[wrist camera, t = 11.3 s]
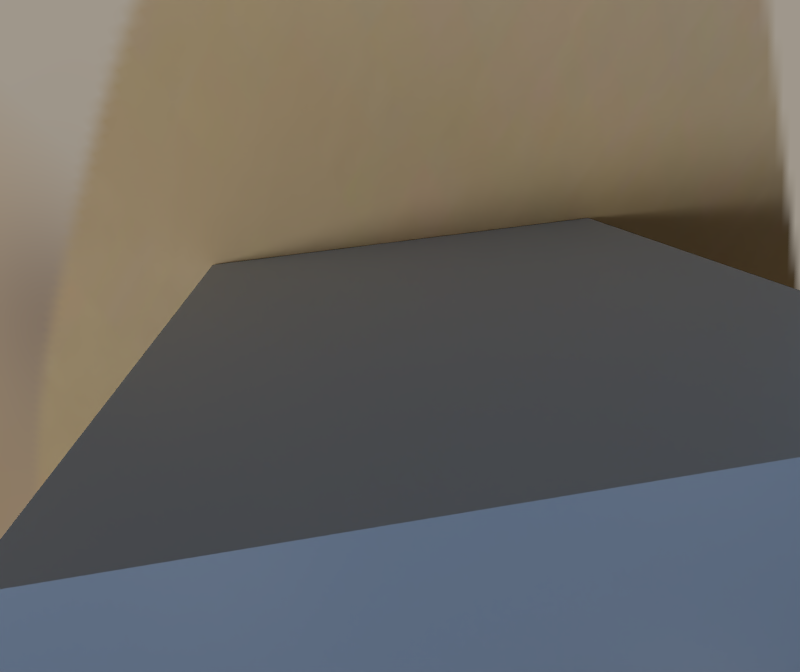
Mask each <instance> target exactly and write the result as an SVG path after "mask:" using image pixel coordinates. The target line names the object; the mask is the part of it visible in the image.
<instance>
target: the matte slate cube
mask: <svg viewBox="0 0 800 672" xmlns="http://www.w3.org/2000/svg"><path fill="white" fill-rule="evenodd" d="M0 672H800V290H797V289H794V288H791V287H788V286H785V285H782V284H779V283H776V282H773V281H770V280H768V279H765V278H762V277H759V276H756V275H753V274H750V273H747V272H744V271H741V270H738V269H735V268H733V267H730V266H727V265H724V264H721V263H718V262H715V261H712V260H709V259H706V258H703V257H700V256H698V255H695V254H692V253H689V252H686V251H683V250H680V249H677V248H674V247H671V246H668V245H665V244H663V243H660V242H657V241H654V240H651V239H648V238H645V237H642V236H639V235H636V234H633V233H630V232H628V231H625V230H622V229H619V228H616V227H613V226H610V225H607V224H604V223H601V222H598V221H595V220H593V219H590V218H585V219H577V220H569V221H561V222H553V223H545V224H537V225H529V226H521V227H513V228H505V229H497V230H489V231H481V232H473V233H465V234H457V235H449V236H441V237H433V238H424V239H416V240H408V241H400V242H392V243H384V244H376V245H368V246H360V247H352V248H344V249H336V250H328V251H320V252H312V253H304V254H296V255H288V256H280V257H272V258H264V259H256V260H248V261H240V262H232V263H224V264H216V265H212V267H211V268H210V269H209V271H208V272H207V273H206V274H205V276H204V277H203V278H202V280H201V281H200V282H199V283H198V285H197V286H196V287H195V289H194V290H193V291H192V292H191V294H190V295H189V296H188V298H187V299H186V300H185V302H184V303H183V304H182V305H181V307H180V308H179V309H178V311H177V312H176V313H175V314H174V316H173V317H172V318H171V320H170V321H169V322H168V323H167V325H166V326H165V327H164V329H163V330H162V331H161V333H160V334H159V335H158V336H157V338H156V339H155V340H154V342H153V343H152V344H151V345H150V347H149V348H148V349H147V351H146V352H145V353H144V354H143V356H142V357H141V358H140V360H139V361H138V362H137V364H136V365H135V366H134V367H133V369H132V370H131V371H130V373H129V374H128V375H127V376H126V378H125V379H124V380H123V382H122V383H121V384H120V386H119V387H118V388H117V389H116V391H115V392H114V393H113V395H112V396H111V397H110V398H109V400H108V401H107V402H106V404H105V405H104V406H103V407H102V409H101V410H100V411H99V413H98V414H97V415H96V417H95V418H94V419H93V420H92V422H91V423H90V424H89V426H88V427H87V428H86V429H85V431H84V432H83V433H82V435H81V436H80V437H79V438H78V440H77V441H76V442H75V444H74V445H73V446H72V448H71V449H70V450H69V451H68V453H67V454H66V455H65V457H64V458H63V459H62V460H61V462H60V463H59V464H58V466H57V467H56V468H55V469H54V471H53V472H52V473H51V475H50V476H49V477H48V479H47V480H46V481H45V482H44V484H43V485H42V486H41V488H40V489H39V490H38V491H37V493H36V494H35V495H34V497H33V498H32V499H31V500H30V502H29V503H28V504H27V506H26V507H25V508H24V510H23V511H22V512H21V513H20V515H19V516H18V517H17V519H16V520H15V521H14V522H13V524H12V525H11V526H10V528H9V529H8V530H7V532H6V533H5V534H4V535H3V537H2V538H1V539H0Z"/></svg>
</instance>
